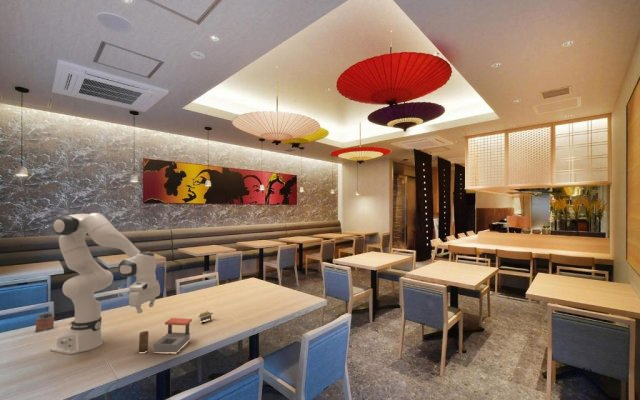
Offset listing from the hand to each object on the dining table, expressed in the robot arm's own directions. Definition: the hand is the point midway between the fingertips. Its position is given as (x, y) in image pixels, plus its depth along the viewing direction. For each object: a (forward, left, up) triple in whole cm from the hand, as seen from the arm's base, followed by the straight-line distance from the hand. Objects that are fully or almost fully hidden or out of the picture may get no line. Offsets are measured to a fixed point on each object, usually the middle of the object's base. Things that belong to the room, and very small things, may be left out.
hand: (145, 309), depth 150 cm
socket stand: (+12, +6, -22) cm, 25 cm away
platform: (+14, +42, -22) cm, 49 cm away
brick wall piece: (-75, +21, -22) cm, 81 cm away
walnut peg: (0, 0, -22) cm, 22 cm away
